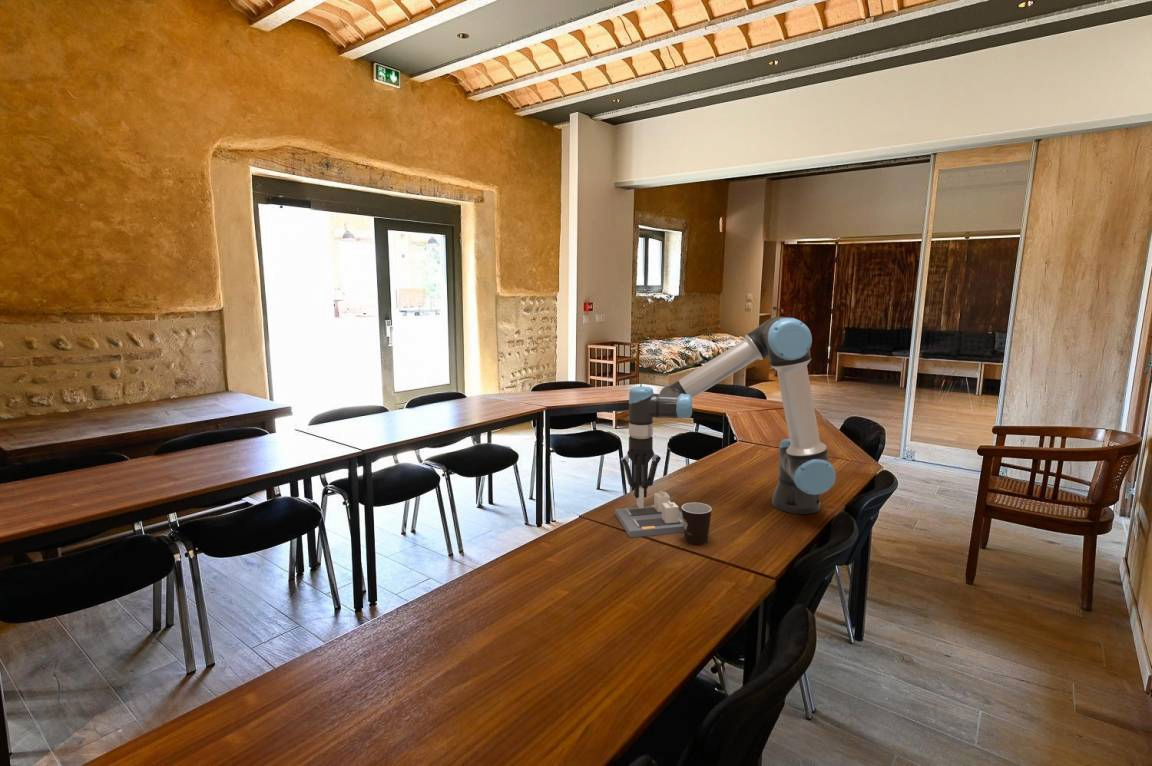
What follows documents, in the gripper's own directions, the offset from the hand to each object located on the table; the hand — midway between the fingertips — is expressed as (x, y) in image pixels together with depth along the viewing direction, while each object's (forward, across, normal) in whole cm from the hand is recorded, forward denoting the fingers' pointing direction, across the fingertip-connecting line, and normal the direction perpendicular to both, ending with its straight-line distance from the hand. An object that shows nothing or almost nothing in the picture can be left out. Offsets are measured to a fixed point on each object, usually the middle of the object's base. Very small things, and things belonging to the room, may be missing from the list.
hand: (640, 506), depth 182 cm
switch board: (+4, -3, +5) cm, 7 cm away
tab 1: (+1, -7, 0) cm, 7 cm away
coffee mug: (+4, -12, +18) cm, 22 cm away
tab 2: (+1, -7, +9) cm, 11 cm away
